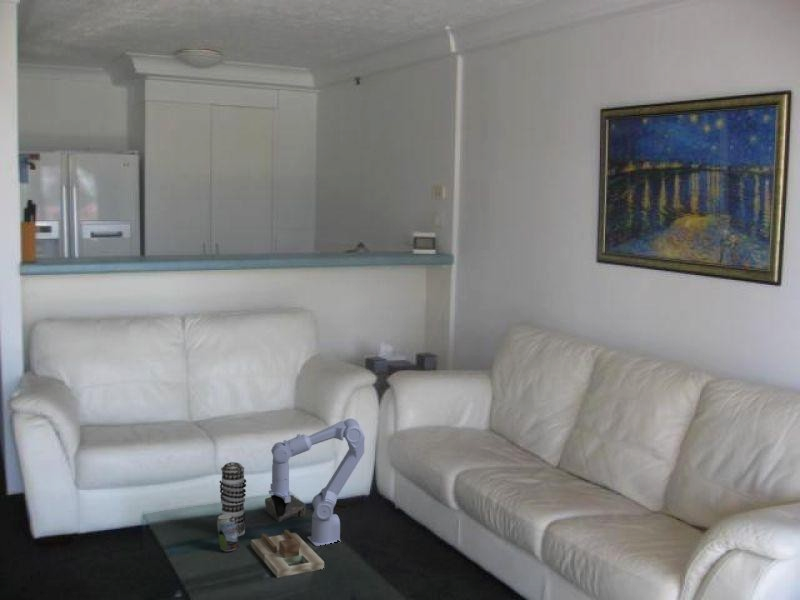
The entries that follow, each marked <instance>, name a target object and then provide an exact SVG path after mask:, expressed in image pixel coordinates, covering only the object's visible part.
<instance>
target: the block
mask: <svg viewBox="0 0 800 600" xmlns="http://www.w3.org/2000/svg"><path fill="white" fill-rule="evenodd" d="M279 552H280V554H281V555H282V556H283V557H284V558H289V557H294V556H299V543H298V542H297V541H296V540H295V539H288V540H282V541H279Z"/></svg>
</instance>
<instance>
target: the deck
mask: <svg viewBox="0 0 800 600" xmlns="http://www.w3.org/2000/svg"><path fill="white" fill-rule="evenodd" d="M260 536H261V538H260V537H259V538H255V539H251V541H250V543H251V545H250V547H251V548H252V550H254V552H255V553H256V554H257V555H258V556H259V557H260V560H262V561H263V562H264V564H265V565H266V566H267V567H268V568H269V570H270V571H271V572H272V573H273V574H274V575H275V577H276V578H277V579H278V578H283V577H287V576H288V577H289V576H293V575H298V574H305V573H309V572H314V571H320V569H321V570H324V569H325V561H324V560H323V559H322V558H321V557H320V556H319V555H318V553H316V552H315V551H314V550H313V549H312V548H311V547H310V545H308V544H307V543H306V541H304V540H303V539H302V538H301V536H299V534H297V532H292V533H291V532H290V531H289V530H288V529H284V530H283V534H279V535H273V536H268V535H267V534H266V533H261V535H260ZM288 539H295V540H296V541H297V542H298V543H299V556H294V557H289V558H284V557H283V556H282V555H281V554H280V552H279V541H282V540H288ZM323 568H324V569H323Z"/></svg>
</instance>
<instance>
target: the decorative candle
mask: <svg viewBox="0 0 800 600" xmlns="http://www.w3.org/2000/svg"><path fill="white" fill-rule="evenodd" d="M220 471H221V472H222V473H221V480H219V483H220V484H219V489H220V490H219V492H220V496H219V497H220V503H221V504H222V505H221V506H222V507H221V513H220V516H221V515H224V514H232V515H233V517H234V518H235V524H236V531H237V538H238V537H241V536H244V535H245V533H246V522H245V520H246V513H245V505H244V504H245V502H246V499H245V497H246V492H247V490H246V487H247V484H246V483H247V479H245V473H244V472H245V467H244V466H243V465H242V464H241V463H239V462H233V461H231V462H227V463H225V464H224V466H223V467H221V468H220Z"/></svg>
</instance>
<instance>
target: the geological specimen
mask: <svg viewBox="0 0 800 600" xmlns="http://www.w3.org/2000/svg"><path fill="white" fill-rule="evenodd" d="M290 497H291V502H288V503H287V506H286V509H285V513H284V516H280V517H278V516H277V514H276V510H275V506H274V502H273V500H272V498H271V496H270V497H266V498H265V499H264V505H265V509H264V510H265V512H266V513H268V514H269V515H270V516H271V517H273V518H274V520H276V521H277V522H278V523H280V522H282V521H283V520H288V519H290V518H292V517H305V516H306V515H305V514H306V507H307V506H306V504H305V503H304V502H303V501H301V500H300V499H299V498H297V497H295V495H293V494H290Z"/></svg>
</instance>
